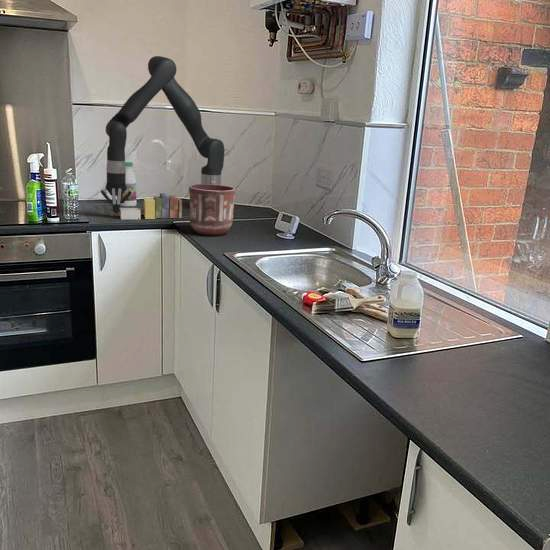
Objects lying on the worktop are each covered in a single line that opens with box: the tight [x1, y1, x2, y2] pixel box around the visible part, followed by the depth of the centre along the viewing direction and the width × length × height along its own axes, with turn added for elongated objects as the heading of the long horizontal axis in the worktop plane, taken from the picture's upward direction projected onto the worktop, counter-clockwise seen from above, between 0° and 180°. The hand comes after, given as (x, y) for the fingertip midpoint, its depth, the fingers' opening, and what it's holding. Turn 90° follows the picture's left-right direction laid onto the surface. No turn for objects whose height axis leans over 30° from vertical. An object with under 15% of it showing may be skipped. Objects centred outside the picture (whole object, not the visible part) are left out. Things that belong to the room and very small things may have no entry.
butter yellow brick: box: [143, 198, 156, 220], centre depth 242 cm, size 4×5×8 cm
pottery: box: [188, 183, 237, 237], centre depth 222 cm, size 18×18×18 cm
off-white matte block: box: [119, 207, 142, 220], centre depth 241 cm, size 8×6×4 cm
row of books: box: [109, 192, 183, 219], centre depth 243 cm, size 30×8×10 cm, turn 110°
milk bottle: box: [120, 161, 137, 208], centre depth 264 cm, size 8×8×20 cm
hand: (116, 212), depth 238 cm, fingers closed
